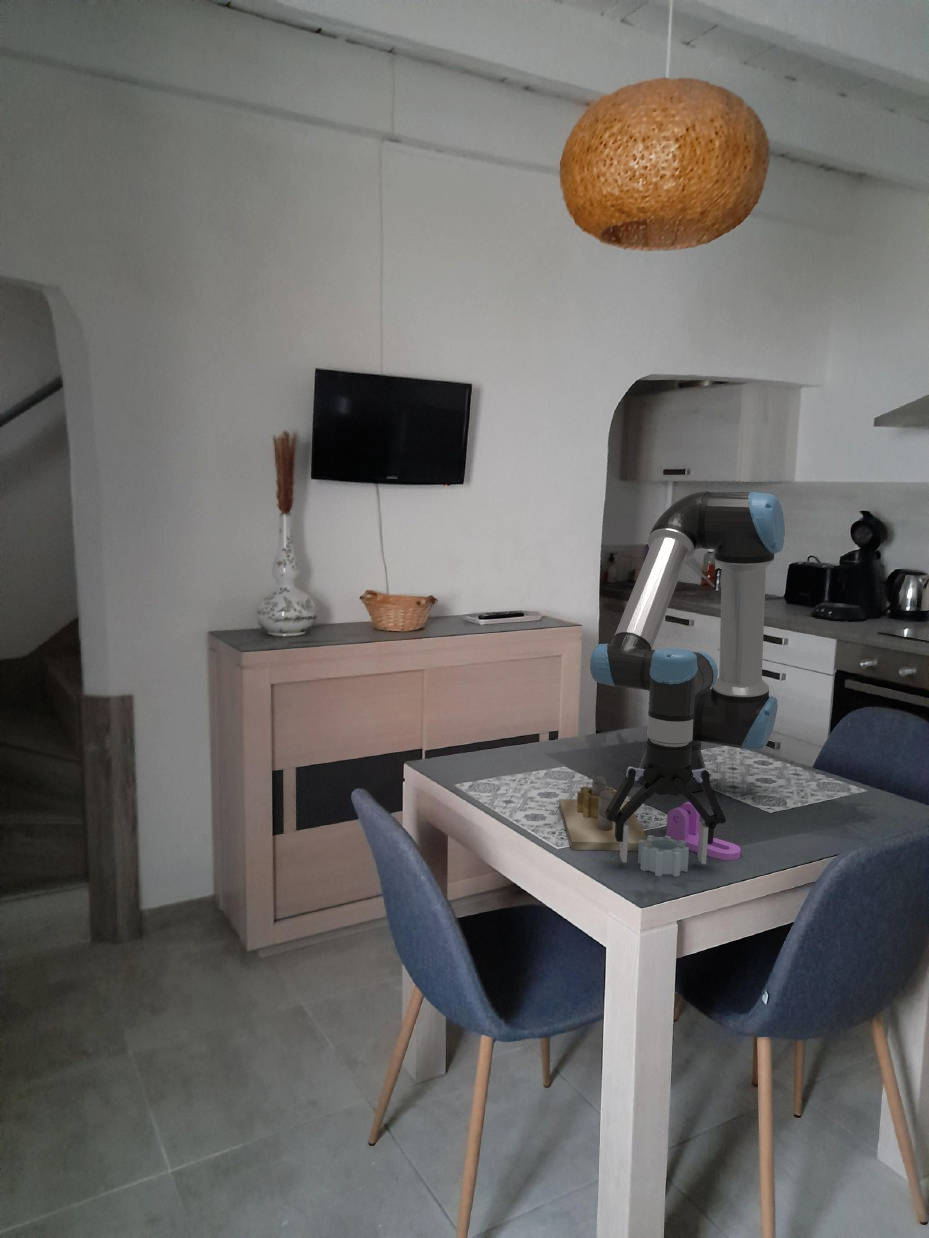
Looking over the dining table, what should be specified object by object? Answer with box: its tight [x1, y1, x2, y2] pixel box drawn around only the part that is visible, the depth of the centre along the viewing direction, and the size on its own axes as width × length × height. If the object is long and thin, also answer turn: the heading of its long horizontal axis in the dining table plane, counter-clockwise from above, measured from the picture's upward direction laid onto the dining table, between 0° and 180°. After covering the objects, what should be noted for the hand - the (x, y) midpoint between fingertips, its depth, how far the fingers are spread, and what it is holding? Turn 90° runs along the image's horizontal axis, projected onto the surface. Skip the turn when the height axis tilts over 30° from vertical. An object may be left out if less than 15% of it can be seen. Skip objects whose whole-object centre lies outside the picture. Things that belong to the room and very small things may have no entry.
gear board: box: [558, 775, 647, 852], centre depth 170 cm, size 14×22×9 cm, turn 0°
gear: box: [637, 834, 690, 878], centre depth 153 cm, size 8×8×4 cm
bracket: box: [665, 801, 742, 861], centre depth 161 cm, size 13×6×7 cm, turn 47°
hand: (662, 860), depth 153 cm, fingers open, 13 cm apart
